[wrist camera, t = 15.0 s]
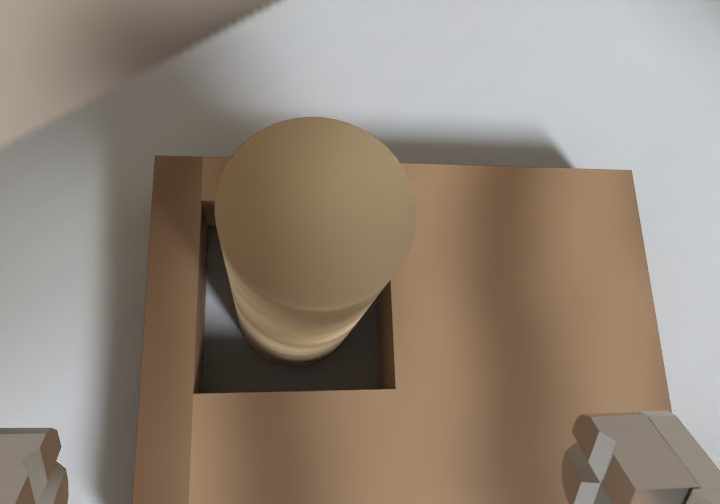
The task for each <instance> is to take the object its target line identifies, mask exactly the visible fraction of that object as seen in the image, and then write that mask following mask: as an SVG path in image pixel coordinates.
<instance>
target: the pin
mask: <svg viewBox="0 0 720 504" xmlns="http://www.w3.org/2000/svg"><path fill="white" fill-rule="evenodd" d="M416 219H417V211H416V201H415V196H414V191H413V188H412V185H411V182H410V180H409V178H408V176H407V174H406V172H405V170H404V168H403V166H402V165H401V163H400V162H399V160H398V159H397V158H396V156H395V155H394V154H393V153H392V152H391V151H390V149H389V148H387V147H386V146H385V145H384V144H383V143H382V142H381V141H380V140H378V139H377V138H375V137H374V136H373V135H371V134H370V133H368V132H366V131H364V130H363V129H361V128H359V127H356V126H354V125H351V124H349V123H346V122H343V121H339V120H335V119H329V118H323V117H304V118H295V119H290V120H285V121H282V122H279V123H276V124H273V125H271V126H269V127H267V128H265V129H263V130H261V131H259V132H258V133H256V134H255V135H253V136H252V137H250V138H249V139H248V140H247V141H246V142H245V143H243V144H242V145H241V146H240V147H239V149H238V150H237V151H236V152H235V153H234V154H233V156H232V157H231V159H230V160H229V161H228V163H227V164H226V166H225V169H224V171H223V173H222V175H221V177H220V180H219V183H218V186H217V191H216V197H215V221H216V227H217V232H218V236H219V240H220V244H221V248H222V253H223V257H224V261H225V265H226V270H227V274H228V278H229V282H230V286H231V291H232V295H233V299H234V303H235V307H236V312H237V316H238V320H239V324H240V328H241V330H242V332H243V335H244V336H245V338H246V340H247V341H248V343H249V344H250V345H251V347H252V348H253V349H254V350H255V351H256V352H258V353H259V354H260V355H262V356H263V357H265V358H266V359H268V360H270V361H272V362H275V363H278V364H282V365H287V366H303V365H309V364H312V363H315V362H318V361H320V360H322V359H324V358H325V357H327V356H329V355H330V354H331V353H332V352H334V351H335V350H336V349H337V348H338V347H339V346H340V344H341V343H342V342H343V340H344V339H345V338H346V337H347V335H348V334H349V333H350V331H351V330H352V329H353V327H354V326H355V325H356V324H357V322H358V321H359V320H360V318H361V317H362V316H363V314H364V313H365V312H366V311H367V309H368V308H369V307H370V305H371V304H372V303H373V302H374V300H375V299H376V298H377V296H378V295H379V294H380V292H381V291H382V290H383V289H384V287H385V286H386V285H387V283H388V282H389V281H390V279H391V278H392V277H393V276H394V274H395V273H396V272H397V270H398V269H399V267H400V266H401V265H402V263H403V262H404V260H405V258H406V256H407V254H408V252H409V250H410V248H411V245H412V242H413V239H414V234H415V230H416Z"/></svg>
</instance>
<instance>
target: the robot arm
mask: <svg viewBox="0 0 720 504" xmlns="http://www.w3.org/2000/svg"><path fill="white" fill-rule="evenodd" d="M572 433H573V435H574V437H575V439H576V440H577V442H576V443H574V444H573V445H572V446H571V447H570V448H569V449H568V450H566V451H565V454H564V458H563V462H562V465H561V474H562V485H563V489H564V493H565V496H566V498H567V501H568V503H569V504H720V470H719V469H718V468H717V467H716V465H715V464H714V463H713V462H712V460H711V459H710V458H709V456H708V455H707V454H706V453H705V451H704V450H703V449H702V448H701V446H700V445H699V444H698V443H697V441H696V440H695V439H694V438H693V436H692V435H691V434H690V433H689V431H688V430H687V429H686V428H685V426H684V425H683V424H682V422H681V421H680V420H679V419H678V417H677V416H676V415H674V414H673V413H671V412H669V411H642V412H620V413H591V414H581V415H580V416H579V417H578V418H577V419H576V420H575V423H574V426H573V429H572ZM60 449H61V444H60V440H59V436H58V432H57V430H55V429H53V428H0V504H67V502H68V478H67V473H66V469H65V468H64V467H63V466H62V465H60V464H59V463H58V462H57V461H56V459H57V457H58V454H59V452H60Z"/></svg>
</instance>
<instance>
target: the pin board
mask: <svg viewBox="0 0 720 504" xmlns="http://www.w3.org/2000/svg"><path fill="white" fill-rule="evenodd" d="M230 159H231V158H219V157H187V156H155V163H154V179H153V194H152V210H151V225H150V241H149V256H148V272H147V287H146V302H145V318H144V333H143V349H142V364H141V380H140V395H139V411H138V426H137V441H136V457H135V472H134V488H133V503H132V504H569V503H568V501H567V498H566V496H565V493H564V489H563V485H562V474H561V465H562V462H563V458H564V454H565V451H566V450H568V449H569V448H570V447H571V446H572V445H573V444H574V443H576V442H577V440H576V439H575V437H574V435H573V433H572V429H573V426H574V423H575V420H576V419H577V418H578V417H579V416H580V415H581V414H591V413H620V412H642V411H669V412H671V413H672V411H671V405H670V399H669V393H668V387H667V381H666V375H665V368H664V362H663V356H662V350H661V344H660V338H659V332H658V326H657V320H656V314H655V308H654V302H653V296H652V290H651V284H650V278H649V272H648V266H647V260H646V254H645V248H644V242H643V236H642V230H641V224H640V218H639V212H638V206H637V200H636V194H635V188H634V182H633V176H632V170H607V169H574V168H542V167H510V166H477V165H445V164H413V163H401V165H402V166H403V168H404V170H405V172H406V174H407V176H408V178H409V180H410V182H411V185H412V188H413V191H414V196H415V201H416V211H417V219H416V230H415V234H414V239H413V242H412V245H411V248H410V250H409V252H408V254H407V256H406V258H405V260H404V262H403V263H402V265H401V266H400V267H399V269H398V270H397V272H396V273H395V274H394V276H393V277H392V278H391V279H390V281H389V282H388V283H387V285H386V286H385V287H384V289H383V290H382V291H381V292H380V294H379V295H378V296H377V299H378V324H379V348H380V373H381V389H380V390H336V391H293V392H249V393H206V394H202V374H203V347H204V321H205V294H206V268H207V241H208V226H216V221H215V197H216V191H217V186H218V183H219V180H220V177H221V175H222V173H223V171H224V169H225V166H226V164H227V163H228V161H229V160H230Z"/></svg>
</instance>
